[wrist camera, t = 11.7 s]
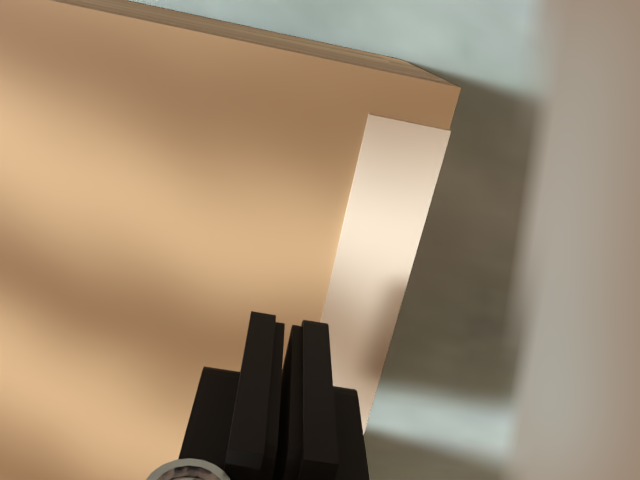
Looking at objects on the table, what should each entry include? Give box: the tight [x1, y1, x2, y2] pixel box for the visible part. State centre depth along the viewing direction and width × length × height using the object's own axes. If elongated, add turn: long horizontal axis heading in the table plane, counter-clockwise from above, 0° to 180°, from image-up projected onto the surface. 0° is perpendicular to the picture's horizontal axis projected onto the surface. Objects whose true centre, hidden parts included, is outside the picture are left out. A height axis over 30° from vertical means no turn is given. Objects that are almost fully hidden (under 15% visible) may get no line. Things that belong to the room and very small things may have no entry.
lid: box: [0, 0, 461, 480], centre depth 15 cm, size 14×14×1 cm
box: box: [64, 0, 450, 83], centre depth 20 cm, size 14×14×8 cm
